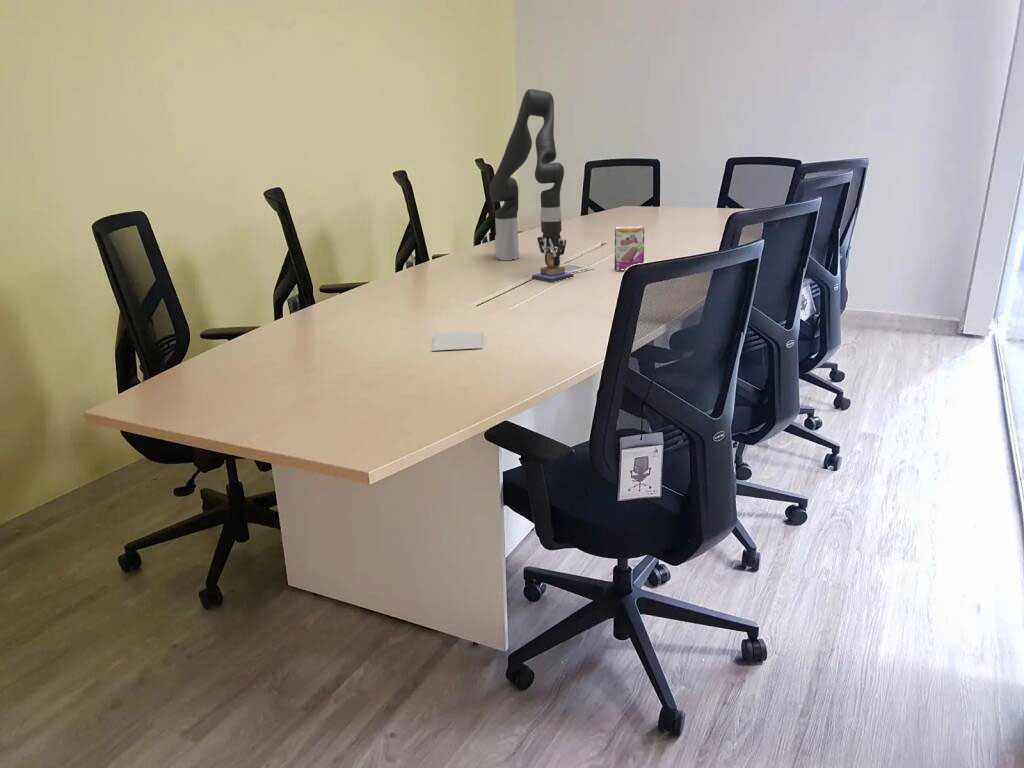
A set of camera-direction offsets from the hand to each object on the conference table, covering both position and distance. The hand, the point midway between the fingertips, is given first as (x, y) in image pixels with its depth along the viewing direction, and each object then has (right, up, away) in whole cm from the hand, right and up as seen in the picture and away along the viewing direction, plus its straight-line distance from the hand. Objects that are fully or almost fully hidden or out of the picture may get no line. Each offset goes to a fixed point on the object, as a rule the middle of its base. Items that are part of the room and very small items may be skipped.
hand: (552, 265), depth 311 cm
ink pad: (0, -5, +2) cm, 5 cm away
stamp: (0, -3, +1) cm, 3 cm away
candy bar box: (+30, -1, +9) cm, 31 cm away
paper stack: (-26, -34, -76) cm, 87 cm away
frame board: (+7, 0, +14) cm, 16 cm away
